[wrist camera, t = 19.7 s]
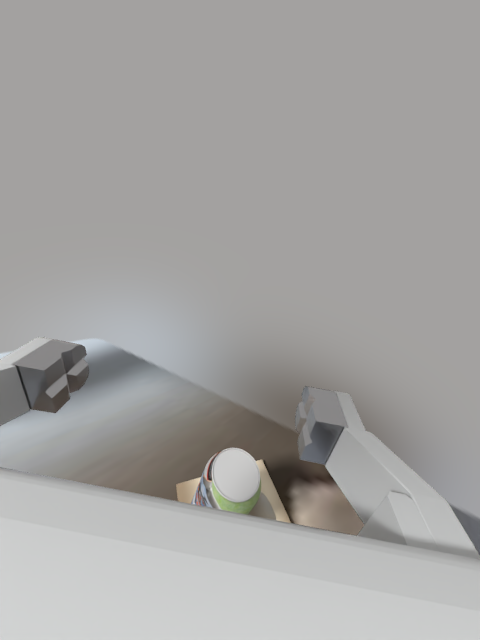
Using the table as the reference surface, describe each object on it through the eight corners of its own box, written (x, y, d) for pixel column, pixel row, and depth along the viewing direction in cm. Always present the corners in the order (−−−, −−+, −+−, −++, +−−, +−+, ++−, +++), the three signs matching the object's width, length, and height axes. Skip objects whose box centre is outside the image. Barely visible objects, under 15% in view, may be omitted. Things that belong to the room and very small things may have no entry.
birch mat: (196, 630, 23) (196, 628, 22) (176, 486, 33) (176, 484, 33) (310, 569, 28) (311, 567, 27) (261, 461, 38) (261, 459, 38)
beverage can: (205, 484, 33) (214, 424, 28) (254, 516, 31) (274, 456, 26) (175, 533, 28) (179, 471, 23) (230, 576, 26) (250, 518, 20)
